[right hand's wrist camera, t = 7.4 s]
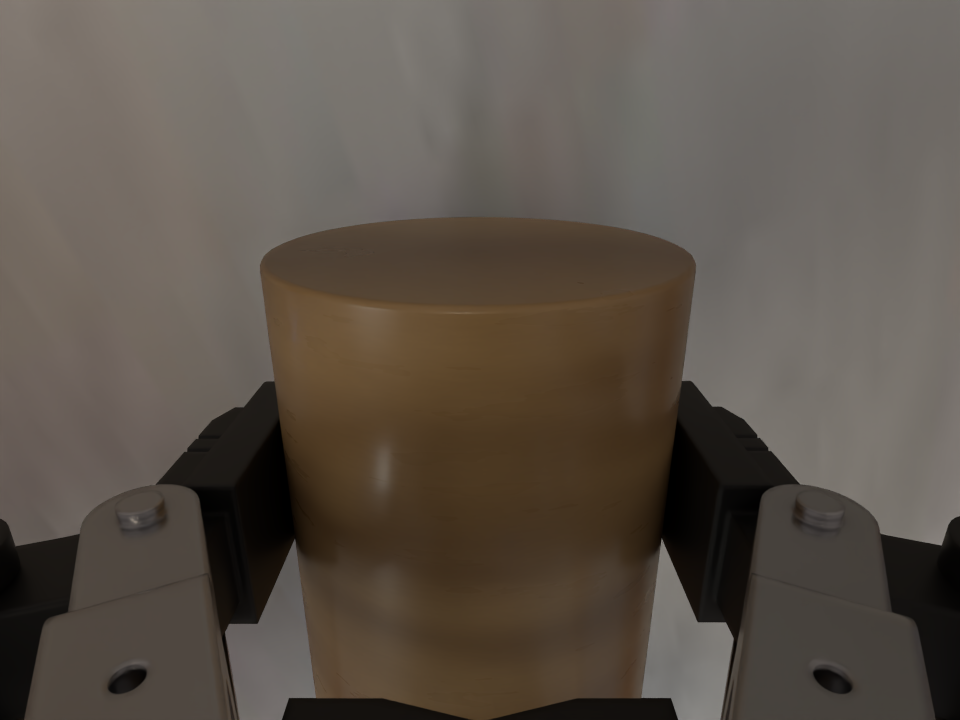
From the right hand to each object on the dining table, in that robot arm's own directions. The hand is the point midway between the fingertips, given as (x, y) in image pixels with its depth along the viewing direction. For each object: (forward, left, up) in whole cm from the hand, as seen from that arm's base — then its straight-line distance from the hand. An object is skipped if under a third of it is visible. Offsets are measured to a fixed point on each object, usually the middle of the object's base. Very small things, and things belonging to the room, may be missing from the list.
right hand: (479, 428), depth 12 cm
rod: (+6, +6, -2) cm, 9 cm away
